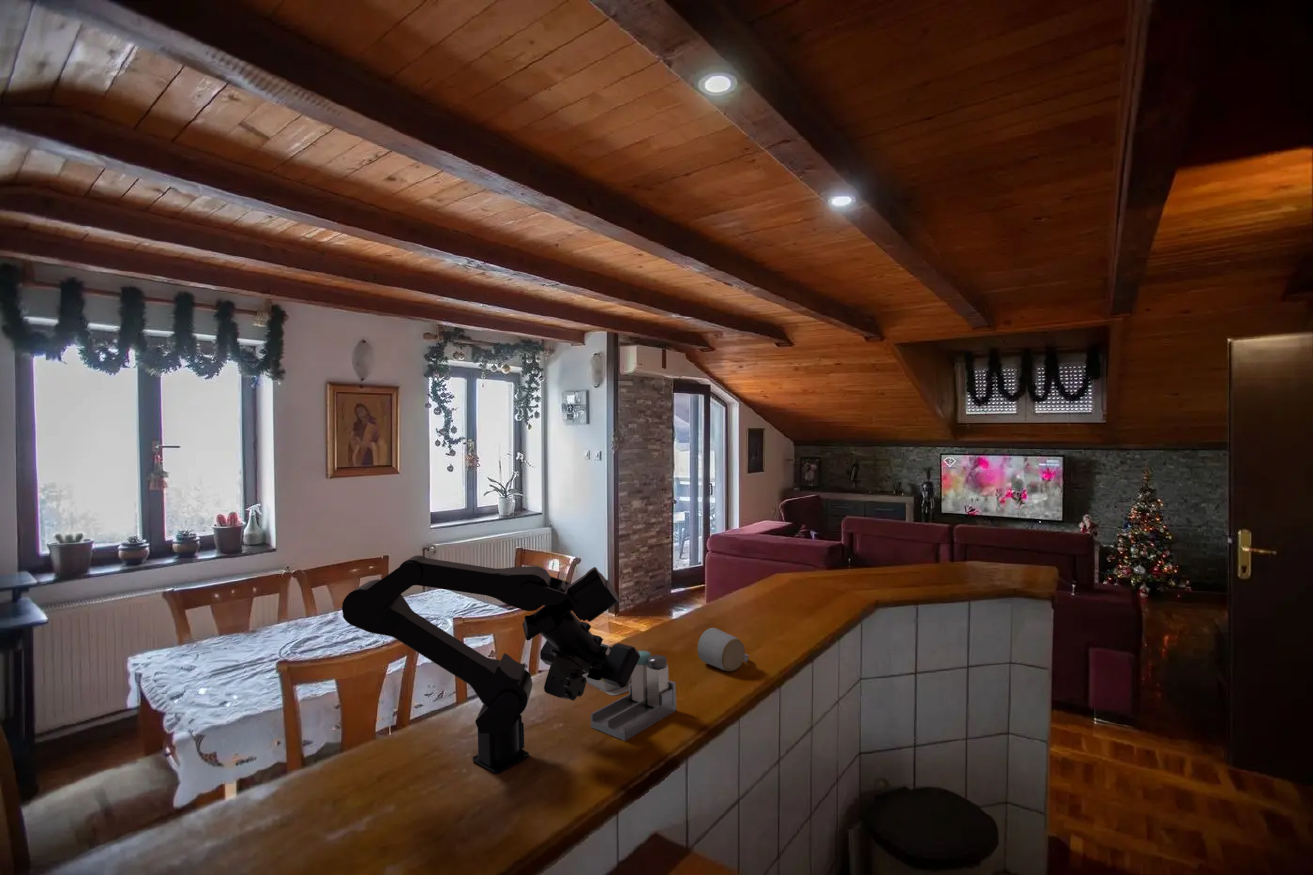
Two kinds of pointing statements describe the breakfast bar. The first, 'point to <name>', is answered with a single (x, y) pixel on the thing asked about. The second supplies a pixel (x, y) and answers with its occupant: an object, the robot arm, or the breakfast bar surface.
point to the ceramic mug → (721, 650)
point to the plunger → (640, 676)
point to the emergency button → (607, 686)
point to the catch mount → (639, 704)
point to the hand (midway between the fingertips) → (611, 679)
